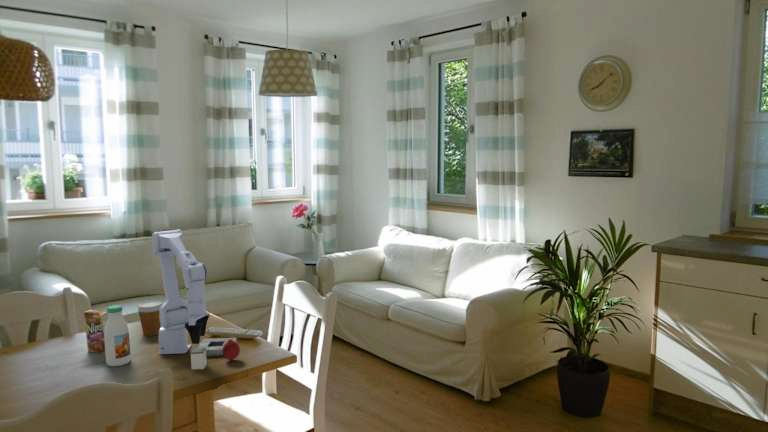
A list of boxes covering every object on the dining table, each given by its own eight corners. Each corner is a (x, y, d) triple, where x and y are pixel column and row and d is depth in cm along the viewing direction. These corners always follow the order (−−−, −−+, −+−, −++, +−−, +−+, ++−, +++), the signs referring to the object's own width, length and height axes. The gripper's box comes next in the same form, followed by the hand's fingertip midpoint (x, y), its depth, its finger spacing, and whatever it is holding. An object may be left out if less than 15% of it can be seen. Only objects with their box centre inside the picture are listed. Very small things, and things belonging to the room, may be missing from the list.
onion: (243, 358, 195) (242, 336, 194) (233, 364, 190) (232, 341, 189) (229, 356, 197) (228, 334, 196) (219, 362, 192) (218, 340, 191)
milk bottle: (106, 368, 188) (102, 311, 185) (106, 361, 195) (101, 305, 192) (131, 364, 191) (127, 307, 189) (130, 357, 198) (126, 302, 196)
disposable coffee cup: (143, 329, 228) (141, 301, 226) (167, 328, 229) (165, 300, 227) (135, 337, 219) (133, 308, 217) (160, 336, 220) (158, 306, 218)
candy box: (86, 352, 204) (83, 311, 202) (96, 348, 208) (93, 308, 206) (105, 355, 200) (101, 313, 199) (114, 350, 204) (111, 310, 203)
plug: (191, 369, 186) (190, 352, 185) (194, 364, 190) (193, 348, 189) (203, 369, 186) (202, 351, 186) (206, 364, 190) (205, 347, 190)
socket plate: (195, 357, 197) (195, 350, 197) (203, 345, 209) (203, 339, 208) (230, 355, 198) (229, 349, 197) (236, 344, 210) (236, 337, 209)
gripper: (203, 305, 179) (205, 346, 180) (213, 294, 193) (215, 332, 195) (180, 306, 178) (183, 347, 180) (192, 294, 193) (194, 332, 194)
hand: (198, 339), depth 187 cm, fingers open, 7 cm apart
